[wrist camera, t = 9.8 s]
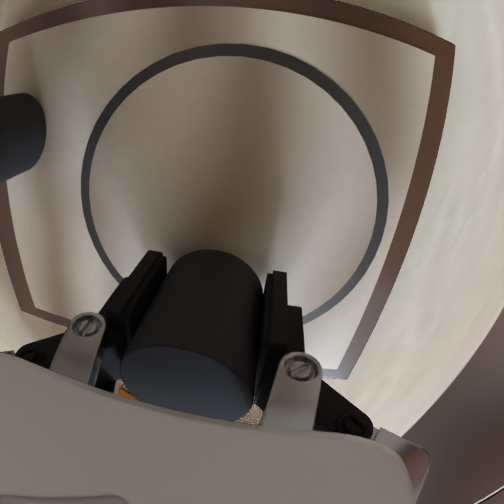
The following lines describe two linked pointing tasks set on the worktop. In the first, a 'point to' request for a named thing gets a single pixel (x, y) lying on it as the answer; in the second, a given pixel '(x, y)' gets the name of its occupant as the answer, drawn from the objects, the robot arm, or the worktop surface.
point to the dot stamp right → (199, 339)
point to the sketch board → (225, 151)
